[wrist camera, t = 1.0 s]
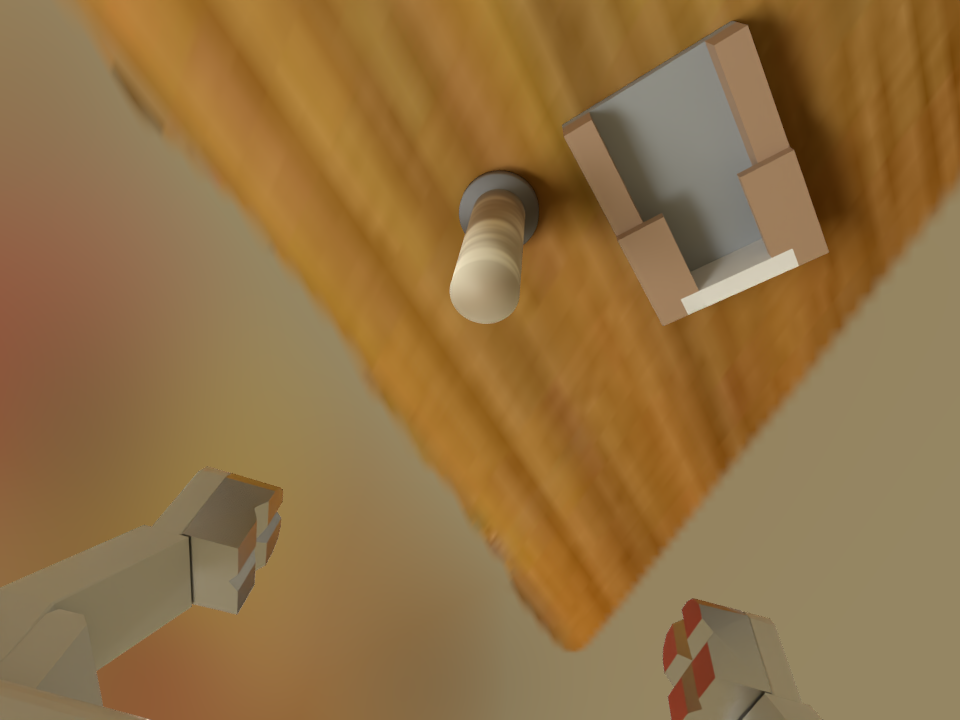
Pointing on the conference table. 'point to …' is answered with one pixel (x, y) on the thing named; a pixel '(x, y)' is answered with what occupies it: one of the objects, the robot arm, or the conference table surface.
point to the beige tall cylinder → (493, 245)
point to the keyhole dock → (699, 176)
